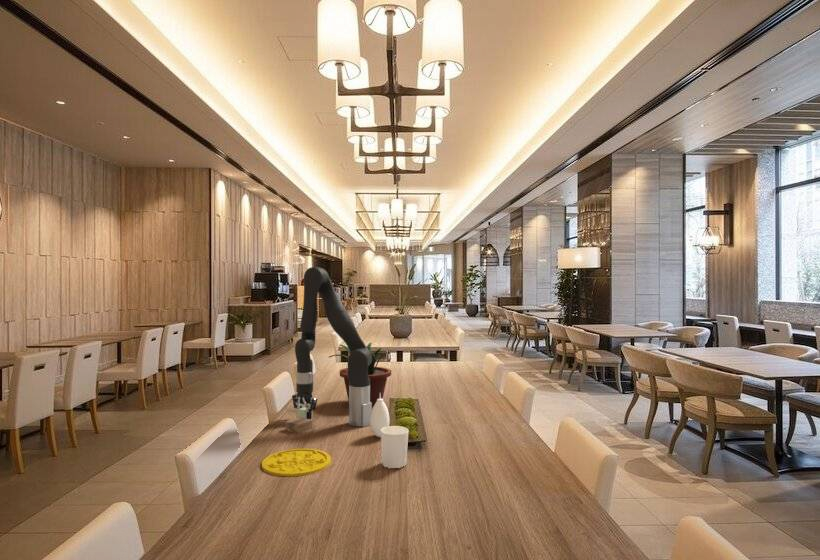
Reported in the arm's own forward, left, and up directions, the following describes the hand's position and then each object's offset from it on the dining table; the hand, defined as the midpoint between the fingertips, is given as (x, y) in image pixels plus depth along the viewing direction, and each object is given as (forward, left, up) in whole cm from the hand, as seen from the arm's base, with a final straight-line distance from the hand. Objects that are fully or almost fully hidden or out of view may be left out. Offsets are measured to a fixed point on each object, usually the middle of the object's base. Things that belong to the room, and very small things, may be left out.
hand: (304, 418), depth 220 cm
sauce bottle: (-42, -1, -1) cm, 42 cm away
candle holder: (-64, +20, -1) cm, 67 cm away
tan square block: (-8, +11, -1) cm, 14 cm away
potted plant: (-3, -36, -1) cm, 36 cm away
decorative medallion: (-35, +38, -1) cm, 52 cm away
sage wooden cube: (0, 0, -1) cm, 1 cm away
